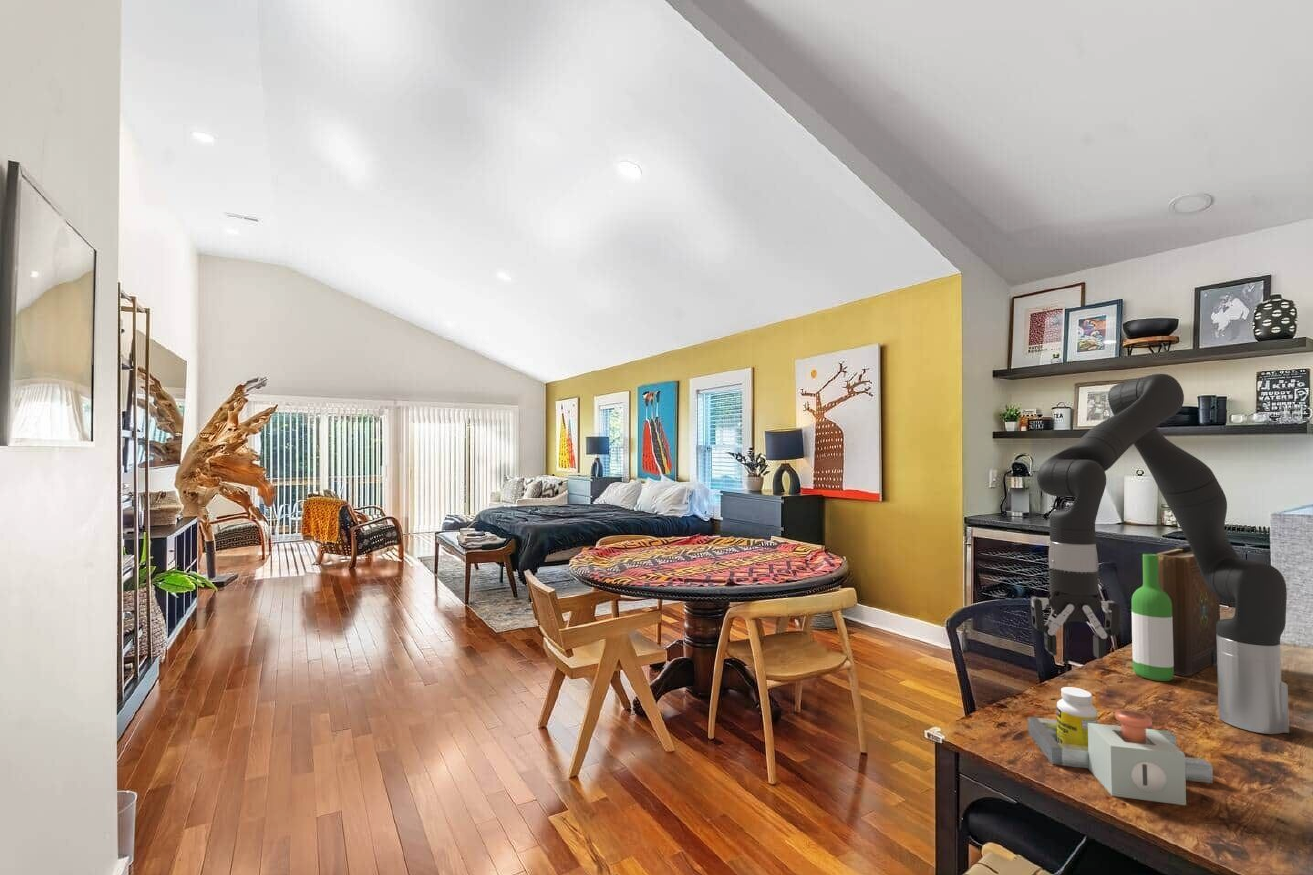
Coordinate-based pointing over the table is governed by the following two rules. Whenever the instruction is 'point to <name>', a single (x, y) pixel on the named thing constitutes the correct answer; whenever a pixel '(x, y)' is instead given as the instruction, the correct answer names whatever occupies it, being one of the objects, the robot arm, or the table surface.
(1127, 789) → the plunger housing block
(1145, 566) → the wine bottle
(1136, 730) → the plunger
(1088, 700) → the pill bottle
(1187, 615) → the decorative book
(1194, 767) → the rail
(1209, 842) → the table surface
